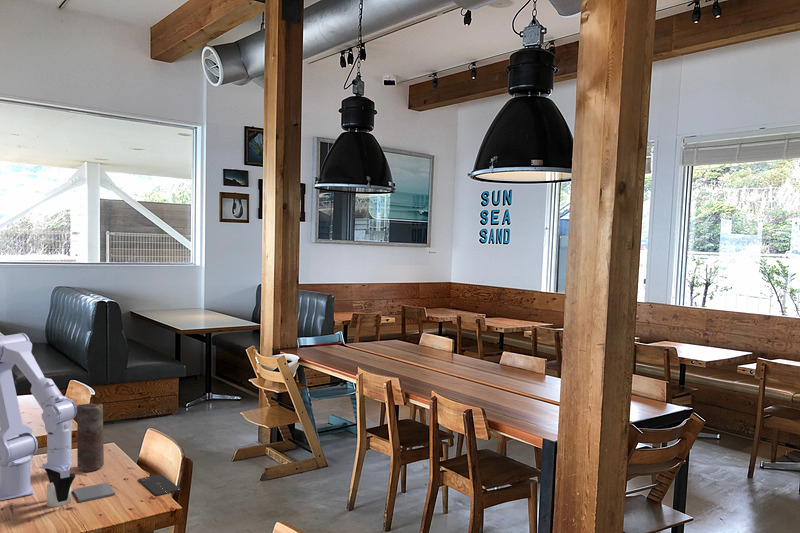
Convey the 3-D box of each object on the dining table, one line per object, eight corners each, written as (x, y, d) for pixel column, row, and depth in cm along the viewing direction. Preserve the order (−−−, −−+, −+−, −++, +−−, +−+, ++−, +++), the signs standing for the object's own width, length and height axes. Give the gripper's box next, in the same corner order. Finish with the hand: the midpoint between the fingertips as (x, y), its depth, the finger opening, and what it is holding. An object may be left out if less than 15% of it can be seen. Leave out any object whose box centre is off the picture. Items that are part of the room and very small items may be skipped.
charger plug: (45, 504, 168) (45, 479, 167) (69, 499, 171) (70, 474, 171) (47, 508, 165) (47, 482, 165) (72, 502, 169) (72, 478, 168)
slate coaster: (72, 491, 176) (72, 489, 176) (107, 484, 182) (107, 482, 182) (79, 502, 169) (79, 500, 169) (115, 495, 174) (115, 492, 174)
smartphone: (155, 495, 174) (136, 478, 185) (155, 498, 174) (136, 481, 185) (181, 488, 179) (161, 472, 190) (181, 491, 179) (161, 475, 190)
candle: (72, 468, 193) (72, 404, 192) (95, 461, 199) (95, 399, 198) (85, 474, 189) (85, 408, 188) (108, 467, 195) (109, 403, 194)
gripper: (37, 441, 170) (37, 490, 171) (47, 456, 159) (47, 509, 160) (66, 437, 175) (65, 484, 176) (78, 451, 164) (78, 502, 164)
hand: (59, 496), depth 168 cm, fingers open, 7 cm apart
